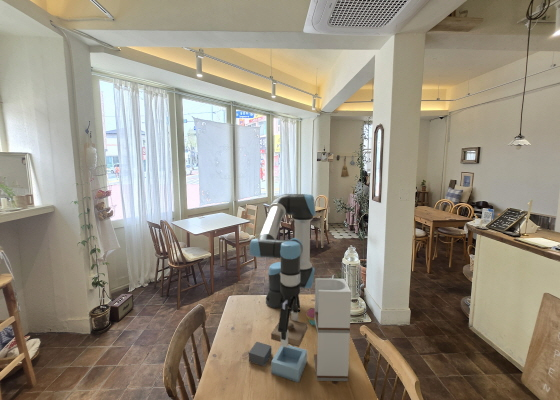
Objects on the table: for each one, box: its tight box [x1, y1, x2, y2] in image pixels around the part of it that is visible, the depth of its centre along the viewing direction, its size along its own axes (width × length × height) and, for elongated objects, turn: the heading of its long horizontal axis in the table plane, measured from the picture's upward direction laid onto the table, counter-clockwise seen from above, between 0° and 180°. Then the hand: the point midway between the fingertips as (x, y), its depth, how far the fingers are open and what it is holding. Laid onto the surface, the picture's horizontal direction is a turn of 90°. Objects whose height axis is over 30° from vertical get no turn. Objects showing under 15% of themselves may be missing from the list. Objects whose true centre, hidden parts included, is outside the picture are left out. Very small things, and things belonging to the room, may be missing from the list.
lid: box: [270, 318, 308, 348], centre depth 96 cm, size 11×11×4 cm
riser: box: [248, 341, 272, 367], centre depth 102 cm, size 7×7×4 cm
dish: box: [270, 344, 308, 384], centre depth 97 cm, size 11×11×5 cm
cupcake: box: [305, 307, 316, 326], centre depth 126 cm, size 9×8×12 cm
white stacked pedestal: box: [313, 277, 352, 382], centre depth 95 cm, size 11×11×35 cm
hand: (289, 336), depth 96 cm, fingers closed on lid, 11 cm apart
